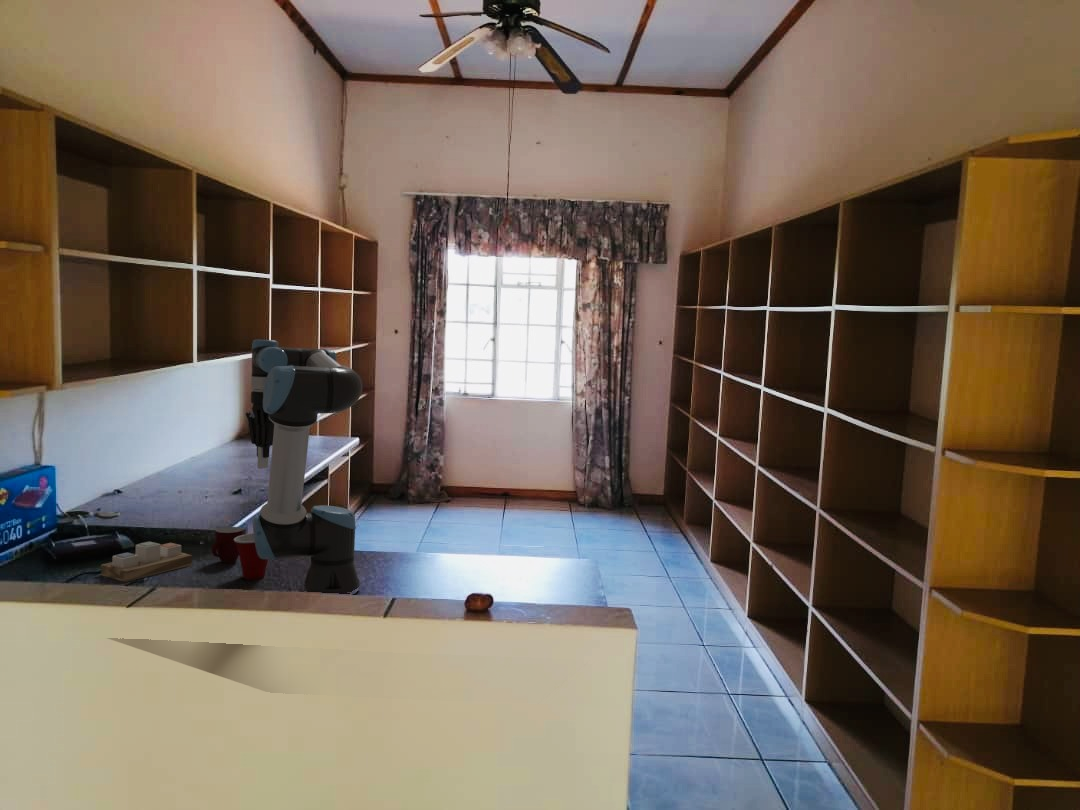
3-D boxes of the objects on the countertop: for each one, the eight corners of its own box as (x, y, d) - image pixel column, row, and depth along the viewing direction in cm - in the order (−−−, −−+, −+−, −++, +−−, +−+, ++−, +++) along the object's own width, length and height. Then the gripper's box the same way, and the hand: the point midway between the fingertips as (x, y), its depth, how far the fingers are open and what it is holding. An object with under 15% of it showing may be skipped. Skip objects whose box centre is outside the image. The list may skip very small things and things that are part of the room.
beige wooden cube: (160, 561, 224) (160, 543, 223) (145, 564, 220) (146, 546, 219) (149, 558, 226) (150, 540, 225) (135, 561, 222) (135, 543, 221)
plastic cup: (240, 570, 226) (240, 530, 226) (277, 571, 227) (278, 531, 226) (227, 581, 216) (228, 539, 215) (266, 582, 216) (267, 540, 216)
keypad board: (191, 564, 230) (191, 555, 230) (126, 582, 211) (126, 571, 211) (167, 558, 235) (167, 549, 235) (101, 575, 216) (101, 564, 216)
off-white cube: (138, 572, 218) (138, 554, 217) (122, 576, 214) (122, 557, 213) (127, 569, 220) (127, 551, 219) (112, 573, 216) (112, 555, 215)
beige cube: (181, 561, 230) (181, 544, 230) (167, 565, 226) (167, 547, 226) (170, 559, 232) (171, 541, 232) (157, 562, 228) (157, 545, 228)
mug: (227, 568, 228) (227, 535, 227) (203, 565, 229) (204, 533, 229) (248, 559, 238) (249, 528, 237) (225, 557, 240) (226, 525, 239)
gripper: (289, 391, 232) (287, 469, 234) (258, 389, 238) (257, 464, 240) (270, 392, 225) (268, 471, 227) (239, 389, 231) (237, 467, 233)
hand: (262, 467), depth 233 cm, fingers closed
